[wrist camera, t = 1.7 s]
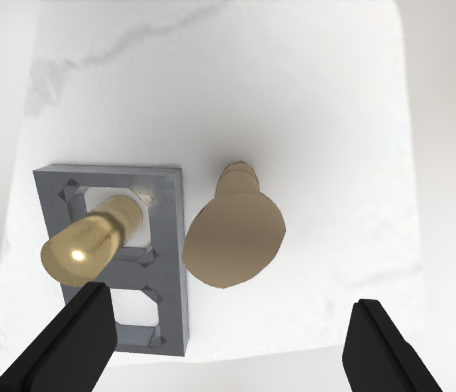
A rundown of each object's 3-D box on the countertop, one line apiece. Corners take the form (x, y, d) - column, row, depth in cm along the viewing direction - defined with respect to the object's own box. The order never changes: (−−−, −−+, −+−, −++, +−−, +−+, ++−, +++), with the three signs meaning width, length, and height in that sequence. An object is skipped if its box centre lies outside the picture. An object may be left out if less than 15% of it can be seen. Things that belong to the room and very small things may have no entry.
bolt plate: (52, 164, 30) (32, 170, 27) (181, 168, 29) (174, 175, 26) (88, 330, 38) (76, 348, 36) (189, 337, 37) (184, 356, 35)
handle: (204, 181, 29) (165, 255, 15) (242, 138, 27) (236, 175, 13) (237, 208, 30) (227, 300, 16) (275, 167, 28) (303, 232, 14)
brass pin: (99, 194, 31) (34, 235, 21) (140, 196, 30) (93, 237, 21) (105, 232, 32) (47, 285, 23) (144, 234, 32) (102, 288, 23)
